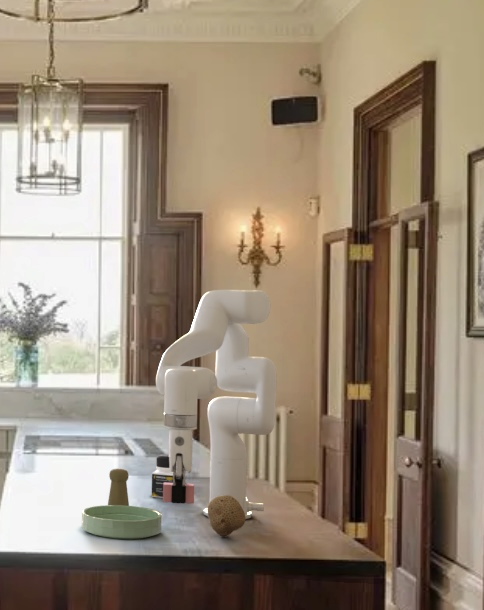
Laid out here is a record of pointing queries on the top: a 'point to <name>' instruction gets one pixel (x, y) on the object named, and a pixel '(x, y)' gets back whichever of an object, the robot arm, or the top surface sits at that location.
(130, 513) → the bowl
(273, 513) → the top surface
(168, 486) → the eraser
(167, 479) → the medicine bottle
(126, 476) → the cork
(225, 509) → the natural sponge
